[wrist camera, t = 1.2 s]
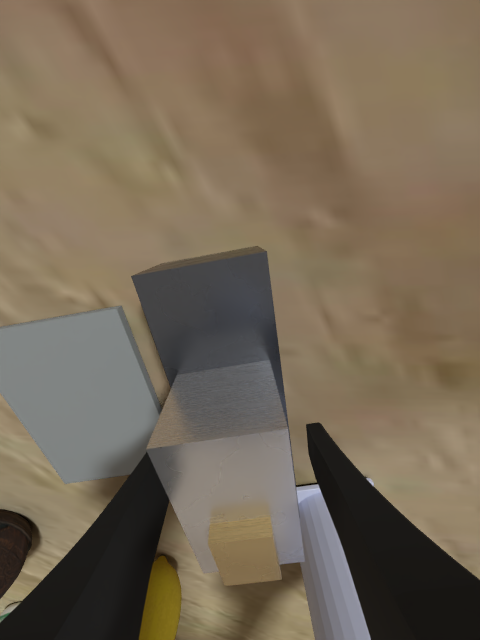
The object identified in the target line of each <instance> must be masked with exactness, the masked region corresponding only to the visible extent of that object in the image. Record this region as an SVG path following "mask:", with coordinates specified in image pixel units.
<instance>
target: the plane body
mask: <svg viewBox="0 0 480 640" xmlns="http://www.w3.org/2000/svg"><path fill="white" fill-rule="evenodd" d="M131 277H132V280H133V283H134V285H135V288H136V291H137V294H138V297H139V299H140V302H141V305H142V308H143V311H144V314H145V316H146V319H147V322H148V325H149V328H150V330H151V333H152V336H153V339H154V342H155V345H156V347H157V350H158V353H159V356H160V359H161V361H162V364H163V367H164V370H165V373H166V375H167V378H168V381H169V384H170V387H171V388H172V385H173V383H174V380H175V378H176V376H177V375H180V374H186V373H192V372H199V371H205V370H211V369H217V368H224V367H230V366H236V365H242V364H249V363H255V362H261V361H267V360H270V363H271V367H272V371H273V374H274V378H275V382H276V385H277V389H278V393H279V397H280V400H281V404H282V408H283V412H284V415H285V419H286V423H287V426H288V418H287V410H286V402H285V394H284V386H283V378H282V370H281V362H280V354H279V346H278V338H277V330H276V322H275V314H274V306H273V298H272V290H271V282H270V274H269V266H268V258H267V251H265V250H264V249H262V248H260V247H258V246H255V247H249V248H244V249H238V250H233V251H228V252H222V253H217V254H211V255H206V256H200V257H195V258H190V259H184V260H179V261H173V262H168V263H163V264H160V265H157V266H155V267H152V268H150V269H147V270H145V271H142V272H140V273H138V274H135V275H133V276H131ZM288 432H289V426H288ZM289 440H290V434H289ZM290 448H291V442H290ZM291 456H292V450H291ZM292 464H293V458H292ZM293 472H294V466H293ZM294 479H295V474H294ZM295 487H296V482H295ZM296 495H297V490H296ZM297 503H298V498H297ZM298 511H299V506H298ZM299 518H300V514H299Z"/></svg>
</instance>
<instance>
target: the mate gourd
mask: <svg viewBox="0 0 480 640" xmlns="http://www.w3.org/2000/svg"><path fill="white" fill-rule="evenodd" d="M31 543H32V533H31V527H30V524H29V522H28V521H27V520H25V519H24V518H23V517H21V516H20V515H18V514H16V513H14V512H10V511H4V510H0V599H1V598H2V596H3V595H4V594H5V593H6V591H7V590H8V589H9V588H10V586H11V585H12V584H13V582H14V581H15V580H16V578H17V577H18V575H19V573H20V572H21V569H22V567H23V565H24V562H25V560H26V556H27V553H28V551H29V550H30V548H31Z"/></svg>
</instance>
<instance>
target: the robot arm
mask: <svg viewBox="0 0 480 640" xmlns="http://www.w3.org/2000/svg"><path fill="white" fill-rule="evenodd" d="M306 428H307V440H308V452H309V457H310V460H311V464H312V467H313V470H314V474H315V477H316V480H317V483H318V484H316V485H308V486H300V487H296V490H297V498H298V506H299V514H300V518H299V519H300V527H301V535H302V543H303V551H304V558H305V562H300V565H301V570H302V575H303V580H304V585H305V590H306V596H307V601H308V606H309V611H310V616H311V621H312V626H313V631H314V637H315V640H480V580H479V579H478V578H477V577H476V576H474V575H473V574H472V573H471V572H469V571H468V570H467V569H466V568H464V567H463V566H462V565H461V564H459V563H458V562H457V561H456V560H454V559H453V558H452V557H451V556H450V555H448V554H447V553H446V552H445V551H444V550H442V549H441V548H440V547H439V546H438V545H437V544H435V543H434V542H433V541H432V540H431V539H430V538H428V537H427V536H426V535H425V534H424V533H423V532H421V531H420V530H419V529H418V528H417V527H416V526H414V525H413V524H412V523H411V522H410V521H409V520H408V519H407V518H406V517H405V516H404V515H402V514H401V513H400V512H399V511H398V510H397V509H396V508H395V507H394V506H393V505H392V504H391V503H390V502H389V501H388V500H387V499H386V498H385V497H384V496H383V495H382V494H381V493H380V492H379V491H378V490H377V489H376V488H375V487H374V483H373V481H372V480H371V479H370V478H365V477H364V476H363V475H362V474H361V472H360V471H359V470H358V469H357V468H356V467H355V466H354V465H353V464H352V462H351V461H350V460H349V459H348V458H347V457H346V455H345V454H344V453H343V452H342V451H341V450H340V448H339V447H338V446H337V445H336V443H335V442H334V441H333V440H332V438H331V437H330V436H329V434H328V433H327V432H326V430H325V429H324V427H323V426H322V424H320V423H319V422H318V423H312V424H306ZM168 503H169V498H168V496H167V494H166V491H165V489H164V487H163V485H162V483H161V481H160V478H159V476H158V474H157V472H156V470H155V468H154V466H153V463H152V461H151V459H150V457H149V455H148V453H147V452H146V454H145V455H144V456H143V458H142V459H141V461H140V462H139V463H138V465H137V466H136V468H135V469H134V470H133V472H132V473H131V475H130V476H129V477H128V479H127V480H126V481H125V483H124V484H123V486H122V487H121V488H120V490H119V491H118V492H117V494H116V495H115V496H114V498H113V499H112V500H111V502H110V503H109V504H108V505H107V507H106V508H105V509H104V511H103V512H102V513H101V514H100V516H99V517H98V518H97V519H96V521H95V522H94V523H93V524H92V526H91V527H90V528H89V529H88V530H87V532H86V533H85V534H84V535H83V536H82V538H81V539H80V540H79V541H78V542H77V543H76V544H75V546H74V547H73V548H72V549H71V550H70V551H69V552H68V554H67V555H66V556H65V557H64V558H63V559H62V560H61V561H60V562H59V563H58V564H57V565H56V566H55V568H54V569H53V570H52V571H51V572H50V573H49V574H48V575H47V576H46V577H45V578H44V579H43V580H42V581H41V582H40V583H39V584H38V586H37V587H36V588H35V589H34V590H33V591H32V592H31V593H30V594H29V595H28V596H27V597H26V598H25V599H24V600H23V601H22V602H21V603H20V604H19V605H18V606H17V607H16V608H15V609H14V610H13V611H12V612H11V613H10V614H8V615H7V616H6V617H5V618H4V619H3V620H2V621H1V622H0V640H139V635H140V629H141V623H142V617H143V611H144V606H145V600H146V595H147V590H148V584H149V579H150V574H151V570H152V565H153V561H154V557H155V553H156V549H157V545H158V542H159V538H160V534H161V530H162V526H163V523H164V519H165V515H166V511H167V507H168Z"/></svg>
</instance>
